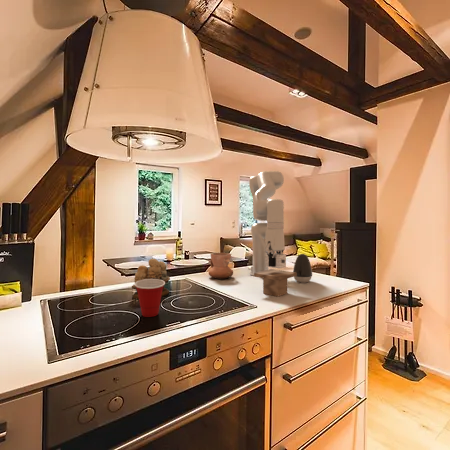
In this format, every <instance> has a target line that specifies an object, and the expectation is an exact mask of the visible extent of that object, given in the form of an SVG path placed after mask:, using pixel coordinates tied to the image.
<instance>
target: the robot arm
mask: <svg viewBox="0 0 450 450" xmlns="http://www.w3.org/2000/svg"><path fill="white" fill-rule="evenodd" d="M283 184H284V175H283V173H282V172H281V171H279V170H277V171H276V170H275V171H273V170H270V171H267V170H266V171H261V172H260V173H258V174H257V175H253V176H251V177H250V179H249V182H248V185H249V191H250V193H251V196H252V212H253V214H252V215H253V219H254V221H259V222H257V223H254V224H252V226H251V228H250V233H251V240H252V266H249V267H248V269H247V270H249V271H250V272H249V274H250V276H253V277H255V276H254V273H257V272H261V271H265V270H269V267H265V254H266V253H267V255H268V258H269V266H272V267H275V258H274V256H275V253H280V254H284V251H285V249H286V247H285V232H284V231H285V229H284V225H285V222H284V221H285V220H284V217H285V216H284V215H285V211H284V209H285V203H284V200H282V199H279V198H276V199H275V198H273V199H270V198H271V197H273V196H274V195H275V194H276V191H277V190H278V189H280V188H281V187H282V186H283ZM261 221H262V222H261ZM264 221H265V222H264ZM272 267H271V268H272Z"/></svg>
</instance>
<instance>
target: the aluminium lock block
mask: <svg viewBox="0 0 450 450" xmlns="http://www.w3.org/2000/svg"><path fill="white" fill-rule="evenodd" d="M274 258H275V267H272V266H269V258H268V255H267V253H266V254H265V267H268V268H271V269H284V268H286V267H287V266H286V265H287V254H286V253H283V254H280V253H276V252H275V256H274Z"/></svg>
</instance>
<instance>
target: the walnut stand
mask: <svg viewBox="0 0 450 450" xmlns="http://www.w3.org/2000/svg"><path fill="white" fill-rule="evenodd" d="M294 276H297V273H296V272H293V271H288V270H280V269H276V268H268V270H265V271H261V272H257V273H254V276H253V277H256V278H262V280H263V282H262V286H263V287H262V288H263V291H262V293H263V294H264V295H269V296H274V297H280V296H283V295H286V294H288V279H291V278H294Z"/></svg>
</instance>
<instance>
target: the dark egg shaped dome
mask: <svg viewBox="0 0 450 450" xmlns="http://www.w3.org/2000/svg"><path fill="white" fill-rule="evenodd" d="M292 272H296V273H297V276H294V277H293V279H294V280H295V281H296V282H297V283H300V284H301V283H303V284H306V283H308V282H310V281H311V279H312V277H313V270H312V264H311V262H310V259H309V257H308V256H307V254H305V253H300V254H299V255H297V257H296V259H295V262H294V265H293V269H292Z"/></svg>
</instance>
